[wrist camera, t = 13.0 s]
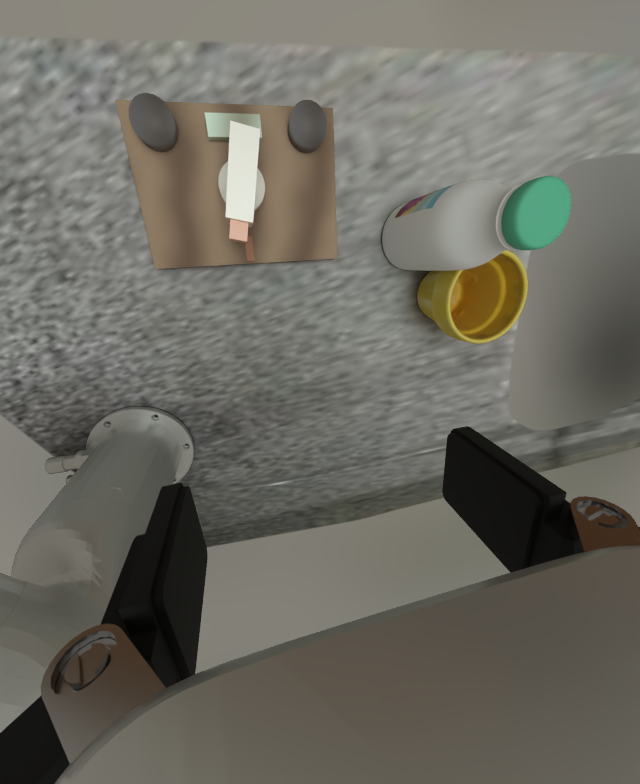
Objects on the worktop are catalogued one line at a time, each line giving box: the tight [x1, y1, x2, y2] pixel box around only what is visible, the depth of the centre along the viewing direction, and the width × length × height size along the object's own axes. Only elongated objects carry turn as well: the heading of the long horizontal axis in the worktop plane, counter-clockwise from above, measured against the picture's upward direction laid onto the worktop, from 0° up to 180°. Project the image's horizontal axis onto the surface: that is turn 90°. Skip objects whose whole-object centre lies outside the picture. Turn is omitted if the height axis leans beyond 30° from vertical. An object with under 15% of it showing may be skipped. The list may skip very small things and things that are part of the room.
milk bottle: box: [382, 176, 571, 271], centre depth 31 cm, size 8×8×20 cm
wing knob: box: [218, 121, 265, 244], centre depth 30 cm, size 9×4×6 cm, turn 171°
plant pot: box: [417, 250, 528, 344], centre depth 39 cm, size 10×10×10 cm
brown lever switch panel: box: [116, 93, 338, 269], centre depth 33 cm, size 20×14×4 cm
